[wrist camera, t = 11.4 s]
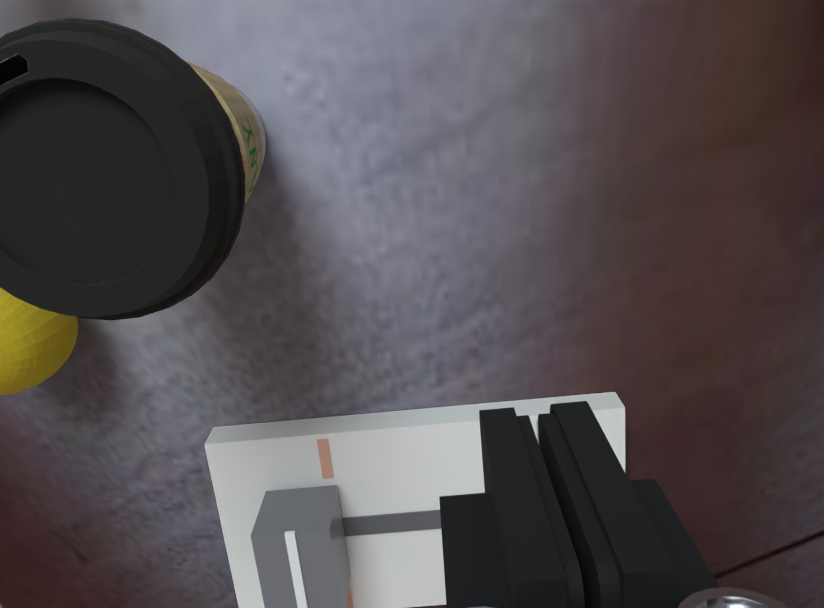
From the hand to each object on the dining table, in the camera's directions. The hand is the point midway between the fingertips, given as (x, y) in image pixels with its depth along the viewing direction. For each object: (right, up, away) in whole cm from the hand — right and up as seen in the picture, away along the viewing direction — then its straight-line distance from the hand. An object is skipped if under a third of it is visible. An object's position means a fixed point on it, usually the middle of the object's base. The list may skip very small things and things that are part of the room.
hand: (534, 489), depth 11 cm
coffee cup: (-12, +11, +25) cm, 30 cm away
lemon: (-22, +3, +28) cm, 35 cm away
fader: (-8, -10, +29) cm, 32 cm away
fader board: (-1, -9, +31) cm, 33 cm away
